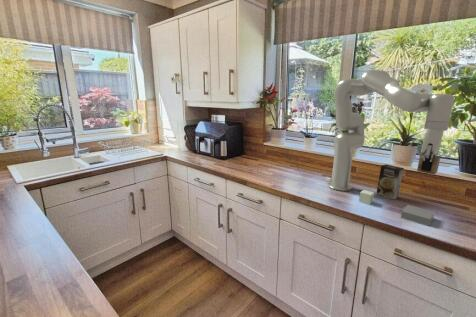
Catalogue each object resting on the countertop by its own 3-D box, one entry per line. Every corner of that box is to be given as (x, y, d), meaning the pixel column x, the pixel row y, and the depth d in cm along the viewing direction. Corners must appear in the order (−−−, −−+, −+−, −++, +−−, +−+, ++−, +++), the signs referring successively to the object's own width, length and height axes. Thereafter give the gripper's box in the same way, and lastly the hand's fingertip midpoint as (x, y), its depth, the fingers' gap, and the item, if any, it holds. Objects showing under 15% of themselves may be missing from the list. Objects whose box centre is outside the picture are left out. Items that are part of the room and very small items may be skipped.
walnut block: (417, 171, 106) (419, 157, 104) (420, 168, 110) (422, 155, 108) (434, 174, 101) (437, 159, 100) (437, 171, 106) (440, 157, 104)
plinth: (400, 217, 111) (402, 211, 110) (406, 210, 118) (407, 204, 117) (428, 225, 104) (430, 219, 103) (433, 218, 111) (434, 211, 110)
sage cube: (358, 201, 127) (360, 192, 126) (362, 198, 131) (363, 189, 130) (369, 204, 124) (370, 195, 123) (372, 201, 127) (374, 192, 126)
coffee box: (375, 194, 137) (380, 165, 133) (380, 191, 141) (385, 163, 137) (394, 199, 130) (399, 169, 126) (398, 196, 134) (404, 167, 130)
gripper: (428, 123, 110) (421, 163, 114) (420, 126, 98) (411, 171, 102) (451, 125, 104) (442, 167, 109) (444, 128, 93) (434, 175, 97)
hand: (427, 168), depth 105 cm, fingers closed on walnut block, 6 cm apart
